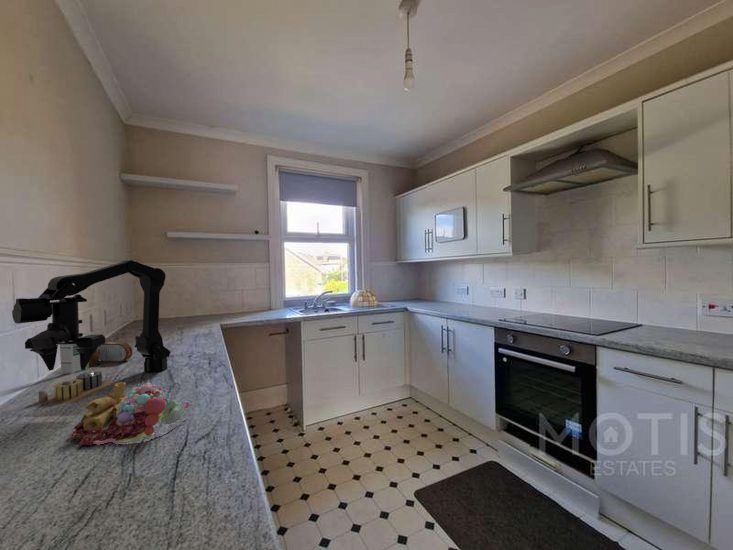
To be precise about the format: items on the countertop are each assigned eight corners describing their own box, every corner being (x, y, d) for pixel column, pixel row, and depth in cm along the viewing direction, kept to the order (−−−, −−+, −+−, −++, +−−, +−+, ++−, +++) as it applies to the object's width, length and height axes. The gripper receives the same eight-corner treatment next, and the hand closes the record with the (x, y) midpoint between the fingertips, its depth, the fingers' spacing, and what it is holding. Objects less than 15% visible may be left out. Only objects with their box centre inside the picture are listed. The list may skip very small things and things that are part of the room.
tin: (133, 360, 134) (132, 341, 134) (126, 363, 131) (126, 343, 130) (101, 360, 135) (100, 340, 135) (94, 362, 132) (93, 342, 132)
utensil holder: (87, 368, 124) (86, 338, 124) (75, 367, 125) (74, 337, 125) (102, 363, 130) (101, 335, 129) (90, 362, 131) (89, 334, 131)
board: (118, 385, 106) (117, 368, 106) (76, 406, 90) (76, 386, 90) (81, 386, 105) (80, 369, 105) (33, 407, 89) (32, 387, 89)
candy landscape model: (44, 454, 67) (42, 412, 67) (113, 406, 91) (112, 374, 90) (169, 442, 71) (168, 403, 71) (205, 399, 95) (204, 369, 94)
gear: (107, 382, 105) (106, 369, 105) (91, 390, 99) (91, 376, 98) (87, 383, 104) (87, 370, 104) (71, 390, 98) (70, 376, 98)
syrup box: (72, 377, 114) (71, 337, 114) (60, 375, 115) (59, 337, 115) (89, 371, 120) (88, 334, 119) (77, 370, 121) (76, 333, 121)
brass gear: (88, 391, 97) (88, 379, 97) (70, 400, 91) (70, 386, 91) (67, 392, 97) (67, 379, 97) (48, 400, 91) (48, 387, 91)
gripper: (2, 323, 85) (4, 380, 85) (74, 322, 86) (76, 378, 86) (43, 316, 96) (44, 367, 96) (106, 316, 97) (107, 365, 97)
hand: (67, 369), depth 94 cm, fingers open, 9 cm apart
